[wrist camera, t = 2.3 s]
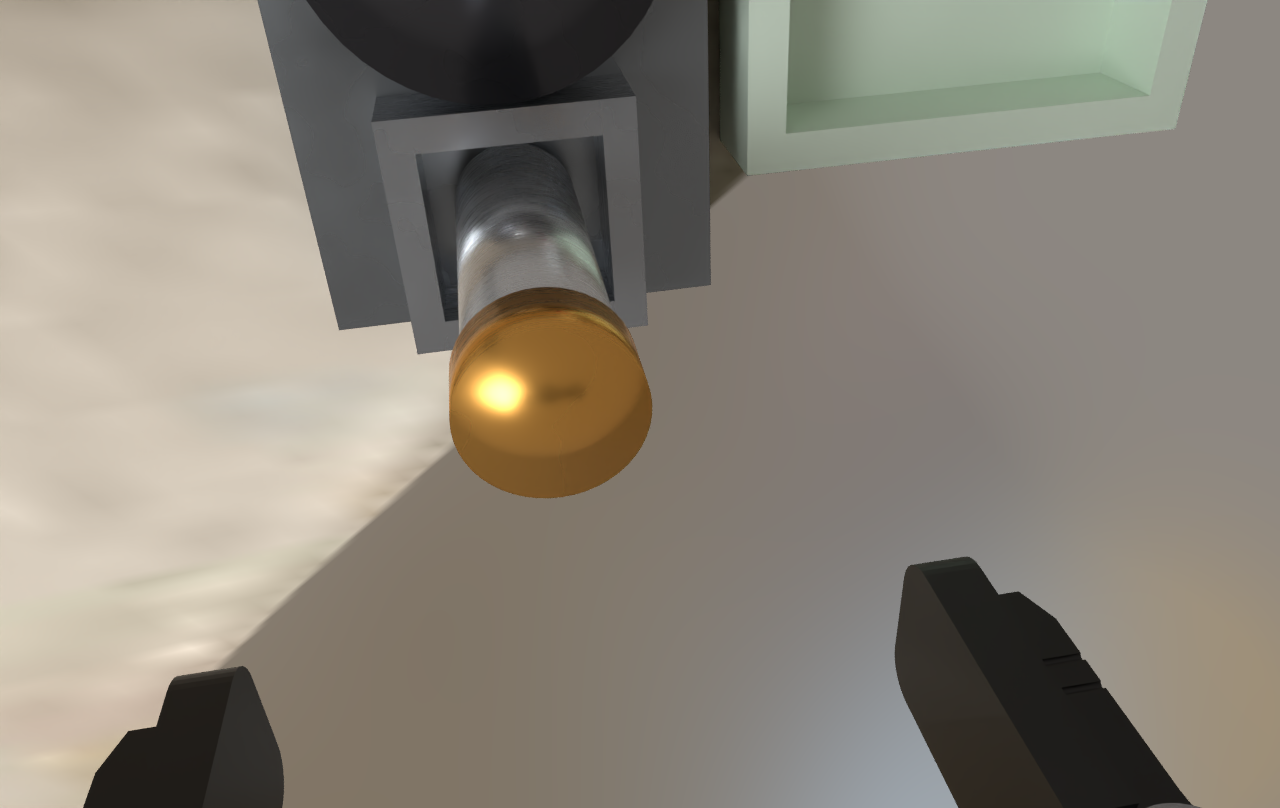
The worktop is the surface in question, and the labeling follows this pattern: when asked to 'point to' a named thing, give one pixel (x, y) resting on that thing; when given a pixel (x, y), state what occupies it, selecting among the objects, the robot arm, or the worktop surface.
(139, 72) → the worktop surface
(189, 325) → the worktop surface
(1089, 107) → the tray
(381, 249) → the tensioner block
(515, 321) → the pin
